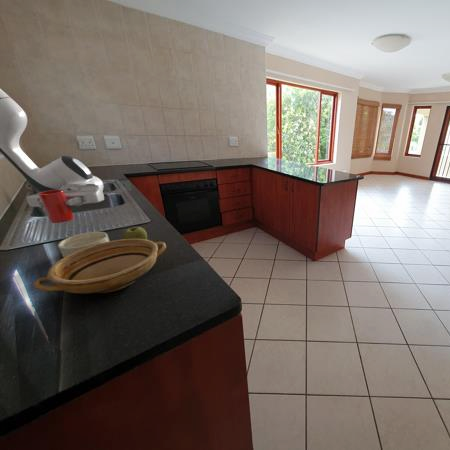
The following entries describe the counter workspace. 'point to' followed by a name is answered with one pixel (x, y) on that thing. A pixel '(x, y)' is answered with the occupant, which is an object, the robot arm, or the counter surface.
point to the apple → (134, 233)
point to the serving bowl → (81, 242)
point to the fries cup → (56, 206)
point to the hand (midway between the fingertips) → (54, 204)
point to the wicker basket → (102, 267)
